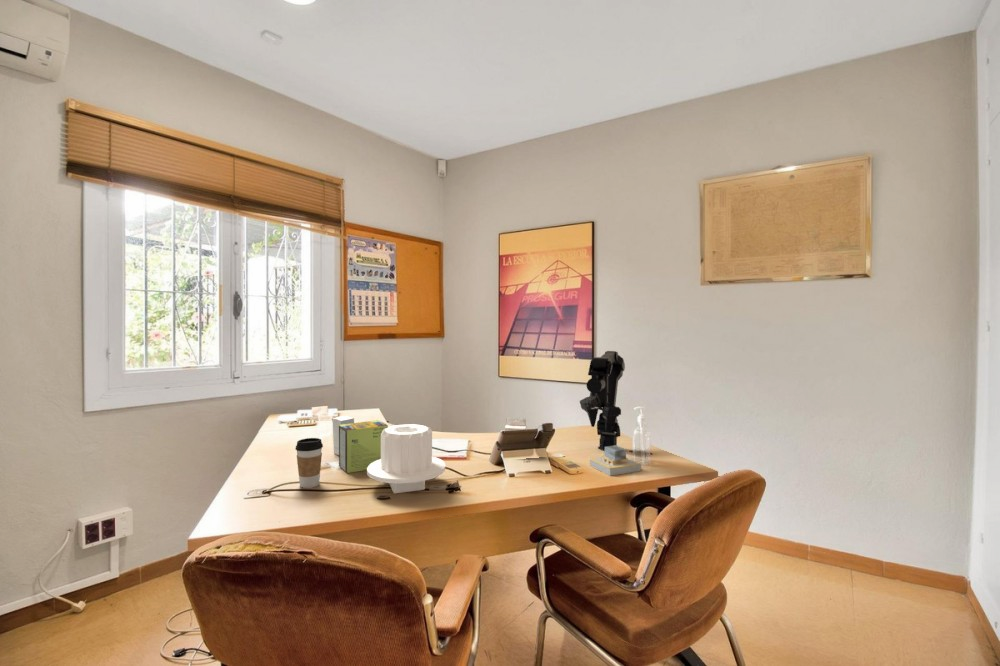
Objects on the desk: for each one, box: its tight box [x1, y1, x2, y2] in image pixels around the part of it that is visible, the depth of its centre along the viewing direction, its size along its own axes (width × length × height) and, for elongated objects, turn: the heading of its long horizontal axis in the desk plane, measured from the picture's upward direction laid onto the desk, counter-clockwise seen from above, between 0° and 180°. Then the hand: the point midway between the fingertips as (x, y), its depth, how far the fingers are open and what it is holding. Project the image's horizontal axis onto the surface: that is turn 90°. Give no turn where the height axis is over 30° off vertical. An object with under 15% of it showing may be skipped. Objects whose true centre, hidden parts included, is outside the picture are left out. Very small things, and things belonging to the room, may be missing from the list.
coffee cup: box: [295, 437, 324, 489], centre depth 153 cm, size 8×8×15 cm
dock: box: [589, 457, 642, 477], centre depth 173 cm, size 14×12×3 cm
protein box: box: [338, 419, 389, 474], centre depth 173 cm, size 10×15×16 cm
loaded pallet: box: [601, 445, 629, 465], centre depth 173 cm, size 7×6×5 cm
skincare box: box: [331, 415, 355, 456], centre depth 187 cm, size 8×6×15 cm
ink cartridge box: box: [504, 417, 527, 432], centre depth 188 cm, size 9×5×15 cm, turn 84°
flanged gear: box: [366, 423, 446, 494], centre depth 152 cm, size 25×25×19 cm
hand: (599, 429), depth 183 cm, fingers open, 9 cm apart
